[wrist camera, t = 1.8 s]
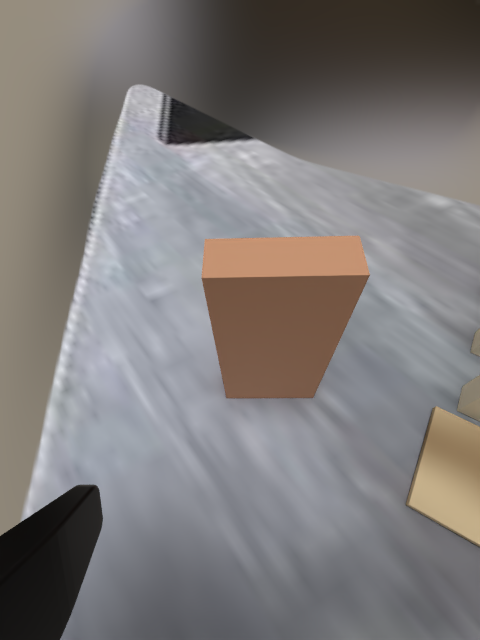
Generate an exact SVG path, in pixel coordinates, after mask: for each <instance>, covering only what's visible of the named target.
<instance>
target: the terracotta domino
mask: <svg viewBox="0 0 480 640" xmlns="http://www.w3.org/2000/svg"><path fill="white" fill-rule="evenodd" d="M369 276H370V274H369V270H368V266H367V262H366V259H365V255H364V251H363V247H362V244H361V240H360V236H327V237H281V238H235V239H205V246H204V257H203V268H202V282H203V287H204V292H205V296H206V301H207V306H208V311H209V316H210V321H211V325H212V330H213V335H214V340H215V345H216V349H217V354H218V359H219V364H220V369H221V374H222V378H223V383H224V388H225V393H226V398H313V397H314V395H315V393H316V390H317V388H318V386H319V384H320V382H321V380H322V377H323V375H324V373H325V371H326V369H327V367H328V364H329V362H330V360H331V358H332V356H333V354H334V351H335V349H336V347H337V345H338V343H339V341H340V338H341V336H342V334H343V332H344V330H345V328H346V326H347V323H348V321H349V319H350V317H351V315H352V313H353V310H354V308H355V306H356V304H357V302H358V300H359V297H360V295H361V293H362V291H363V289H364V287H365V284H366V282H367V280H368V278H369Z"/></svg>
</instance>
